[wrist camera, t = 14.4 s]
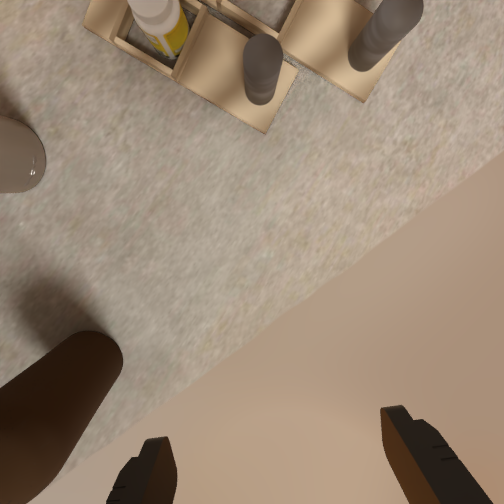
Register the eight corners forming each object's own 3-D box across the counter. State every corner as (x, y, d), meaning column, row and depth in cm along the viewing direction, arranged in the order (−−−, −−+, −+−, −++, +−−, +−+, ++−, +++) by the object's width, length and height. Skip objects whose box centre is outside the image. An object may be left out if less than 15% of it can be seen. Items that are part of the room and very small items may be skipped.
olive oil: (132, 334, 43) (-26, 530, 18) (123, 395, 45) (-27, 641, 21) (59, 319, 42) (-202, 502, 18) (54, 382, 45) (-184, 618, 20)
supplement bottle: (191, 14, 34) (171, -41, 26) (193, 60, 35) (176, 21, 27) (149, 15, 34) (117, -39, 26) (153, 60, 35) (123, 22, 27)
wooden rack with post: (85, 28, 34) (21, -34, 24) (112, -44, 32) (54, -140, 23) (265, 134, 37) (270, 116, 27) (297, 72, 35) (315, 30, 25)
